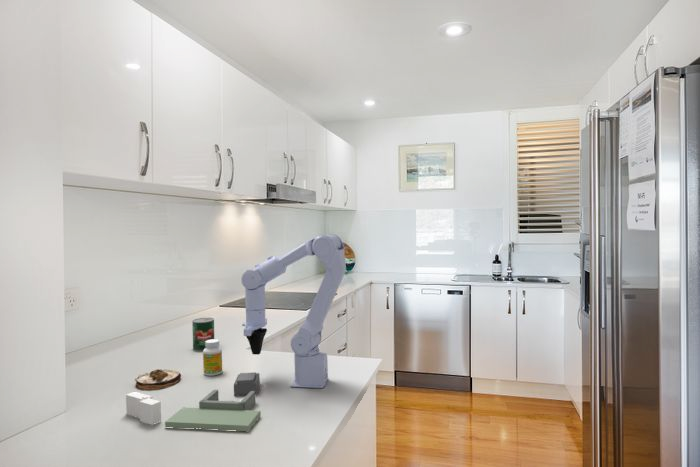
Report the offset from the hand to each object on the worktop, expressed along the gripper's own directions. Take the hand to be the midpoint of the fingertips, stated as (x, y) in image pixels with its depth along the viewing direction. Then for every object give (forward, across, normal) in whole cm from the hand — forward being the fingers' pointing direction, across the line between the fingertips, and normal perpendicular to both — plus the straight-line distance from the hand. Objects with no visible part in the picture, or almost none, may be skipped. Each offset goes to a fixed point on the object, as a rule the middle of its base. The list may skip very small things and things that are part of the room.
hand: (256, 353), depth 133 cm
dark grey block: (+8, +9, 0) cm, 12 cm away
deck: (+8, +25, 0) cm, 26 cm away
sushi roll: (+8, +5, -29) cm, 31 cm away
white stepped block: (+8, +29, -18) cm, 35 cm away
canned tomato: (+8, -30, -32) cm, 45 cm away
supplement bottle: (+8, -4, -16) cm, 18 cm away
